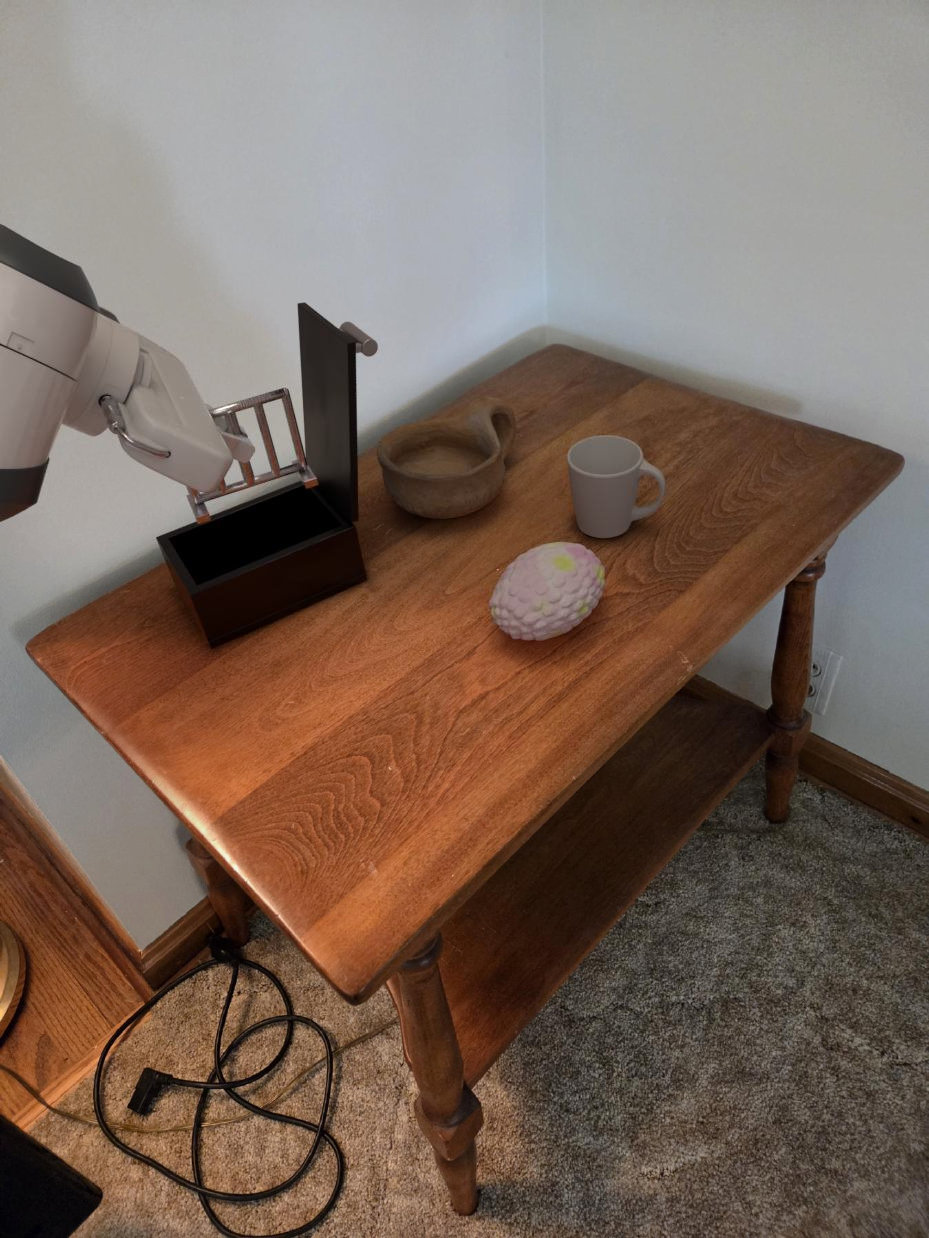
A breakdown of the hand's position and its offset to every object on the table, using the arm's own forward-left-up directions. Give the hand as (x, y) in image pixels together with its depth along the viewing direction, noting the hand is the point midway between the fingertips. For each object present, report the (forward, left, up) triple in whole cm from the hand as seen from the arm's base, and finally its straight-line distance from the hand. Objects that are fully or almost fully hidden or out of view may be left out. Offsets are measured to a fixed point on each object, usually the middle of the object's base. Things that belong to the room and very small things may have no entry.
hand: (246, 446), depth 79 cm
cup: (+33, -10, -19) cm, 39 cm away
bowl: (+23, +6, -19) cm, 30 cm away
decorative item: (+19, -18, -19) cm, 32 cm away
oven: (-1, +4, -18) cm, 19 cm away
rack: (-1, 0, -5) cm, 5 cm away
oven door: (+9, +4, -2) cm, 10 cm away
